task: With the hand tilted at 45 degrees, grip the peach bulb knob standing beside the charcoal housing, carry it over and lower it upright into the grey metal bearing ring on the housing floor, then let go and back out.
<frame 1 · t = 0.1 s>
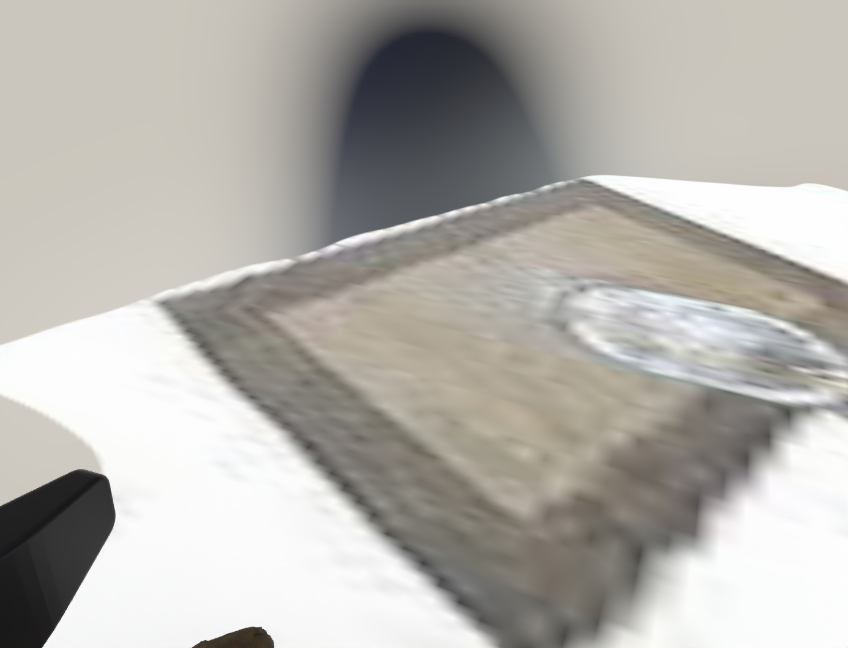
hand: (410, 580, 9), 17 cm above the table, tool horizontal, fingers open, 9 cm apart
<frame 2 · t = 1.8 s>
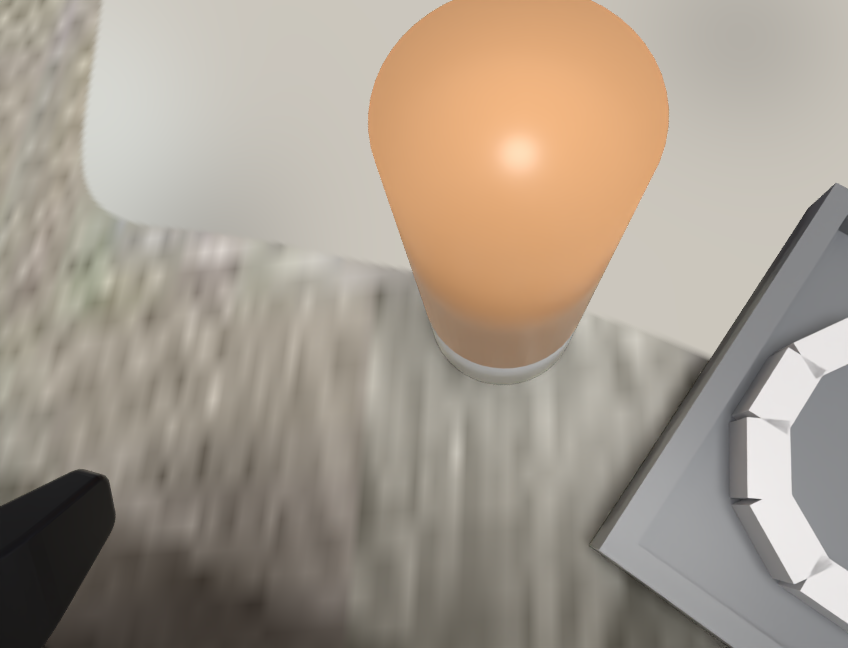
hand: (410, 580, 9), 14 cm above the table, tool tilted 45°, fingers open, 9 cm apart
peach bulb knob: (502, 314, 24), on the table
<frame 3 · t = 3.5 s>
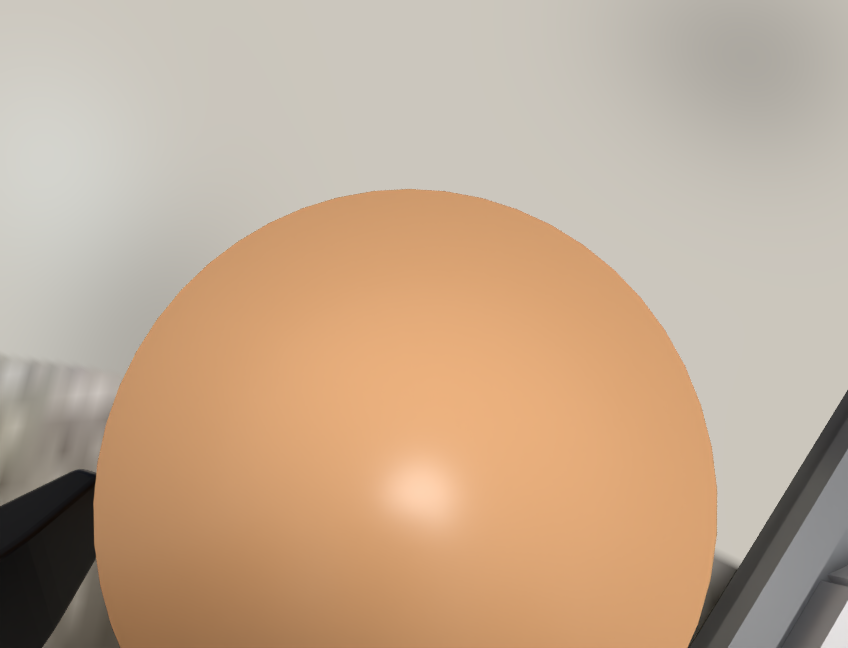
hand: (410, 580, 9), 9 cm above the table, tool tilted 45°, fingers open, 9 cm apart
peach bulb knob: (460, 494, 18), on the table
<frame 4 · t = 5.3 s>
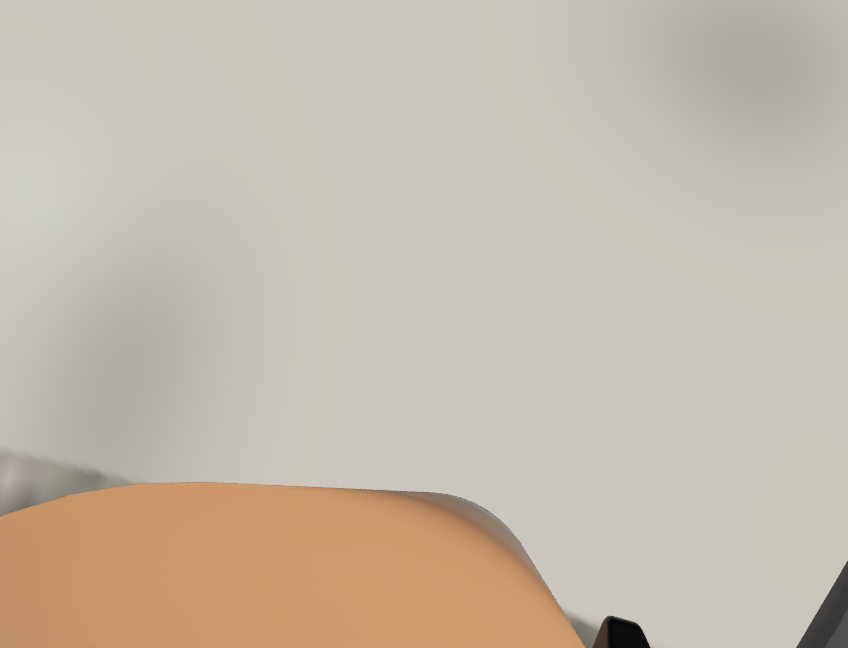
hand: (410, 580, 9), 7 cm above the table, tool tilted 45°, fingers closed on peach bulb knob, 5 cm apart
peach bulb knob: (428, 608, 15), on the table, touching gripper
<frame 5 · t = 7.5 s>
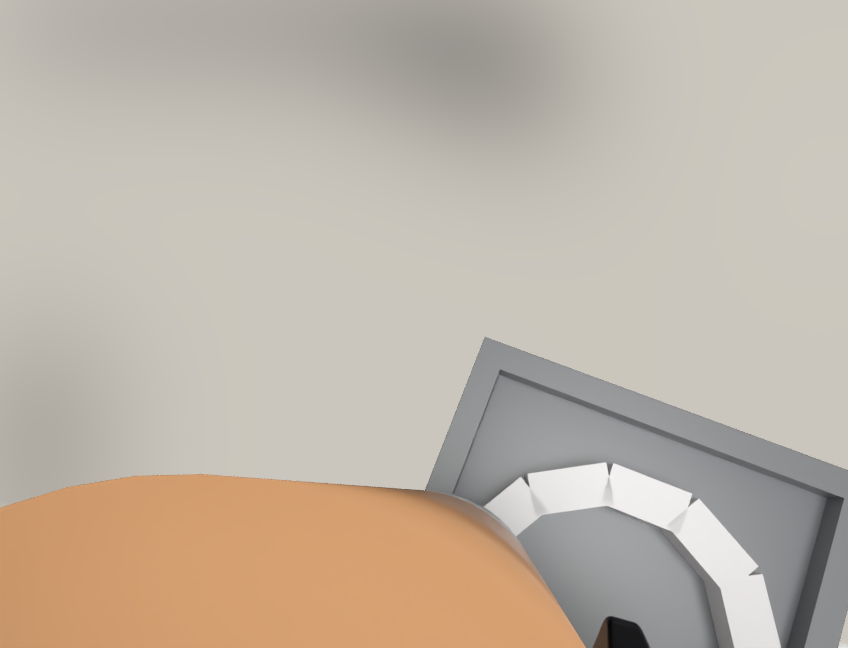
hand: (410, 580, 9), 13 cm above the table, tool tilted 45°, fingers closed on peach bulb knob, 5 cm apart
peach bulb knob: (428, 606, 15), point 7 cm above the table, touching gripper
housing: (587, 624, 21), on the table
when the fingers open (8 cm above the table, at t = 9.9 s): peach bulb knob stays where it is, resting on housing.
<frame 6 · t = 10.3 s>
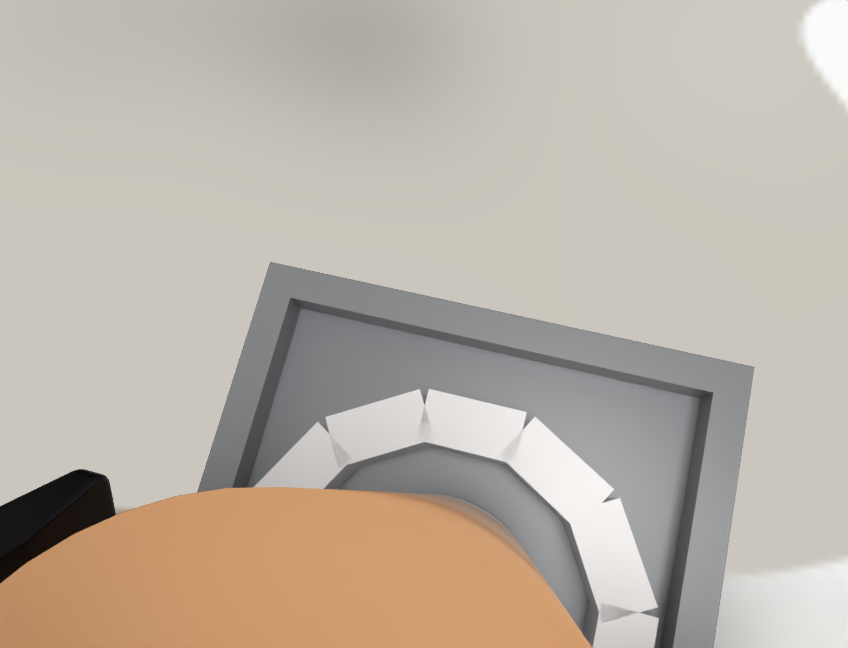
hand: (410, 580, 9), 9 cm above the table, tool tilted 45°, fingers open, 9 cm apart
peach bulb knob: (432, 603, 16), point 1 cm above the table, touching housing
housing: (436, 595, 17), on the table
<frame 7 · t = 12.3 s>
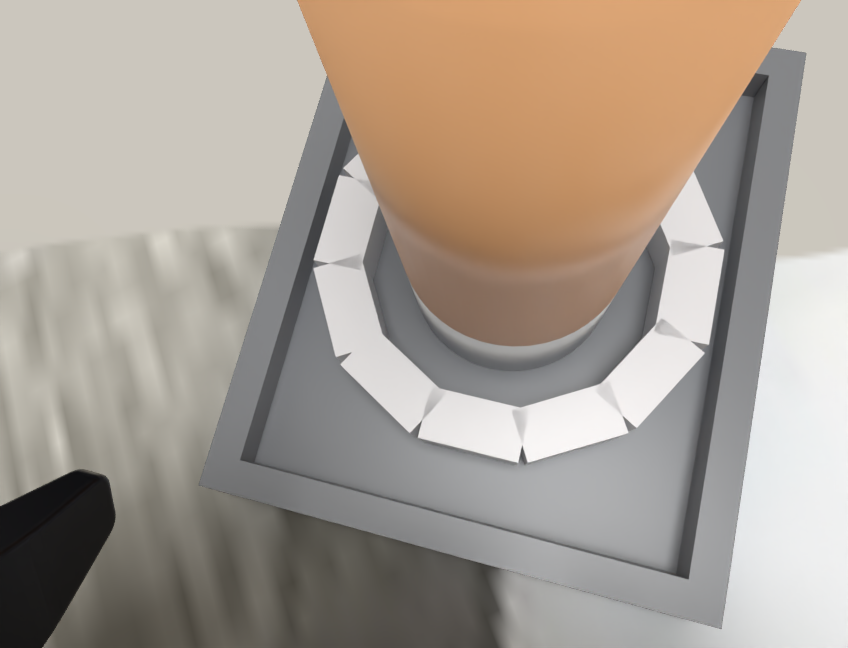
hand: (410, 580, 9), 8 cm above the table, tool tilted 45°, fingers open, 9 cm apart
peach bulb knob: (511, 275, 18), point 1 cm above the table, touching housing
housing: (510, 285, 19), on the table
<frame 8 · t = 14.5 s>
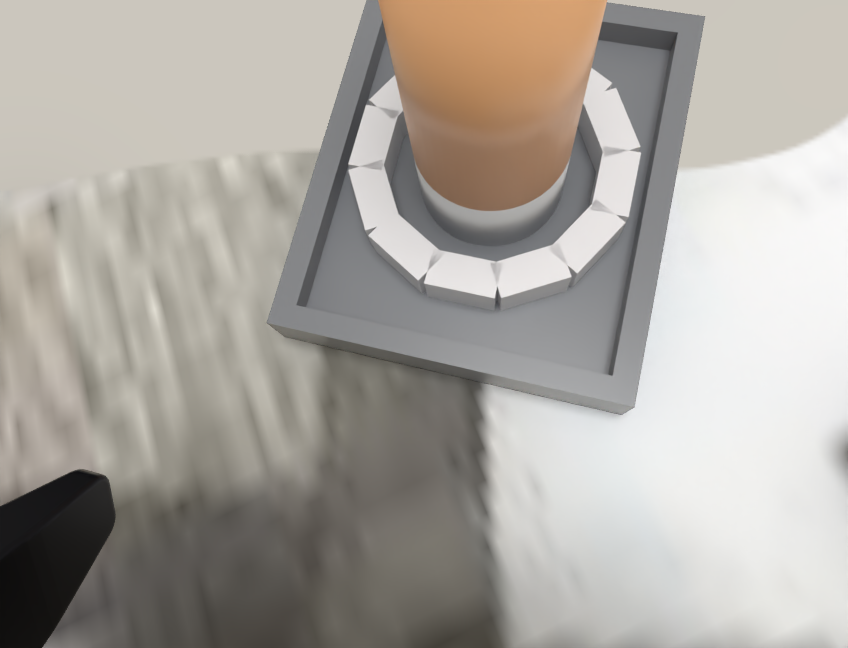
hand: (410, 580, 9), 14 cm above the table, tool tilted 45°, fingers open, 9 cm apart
peach bulb knob: (491, 179, 24), point 1 cm above the table, touching housing
housing: (491, 191, 25), on the table
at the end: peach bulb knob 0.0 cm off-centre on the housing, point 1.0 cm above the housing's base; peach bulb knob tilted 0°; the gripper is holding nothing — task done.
